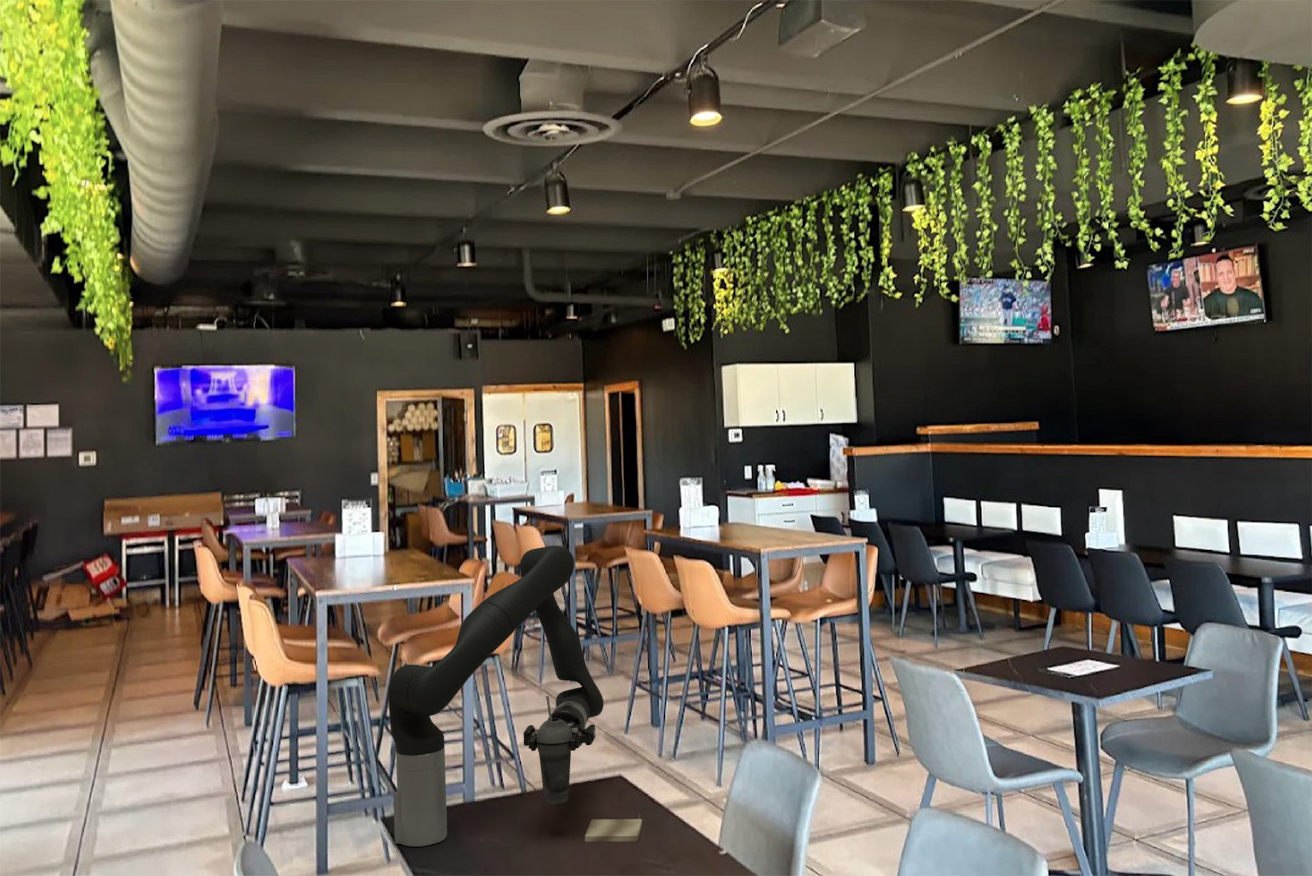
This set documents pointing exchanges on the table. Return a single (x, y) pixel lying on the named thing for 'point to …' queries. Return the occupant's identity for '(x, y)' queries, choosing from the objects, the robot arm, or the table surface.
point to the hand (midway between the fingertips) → (552, 745)
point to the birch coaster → (613, 830)
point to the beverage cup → (554, 758)
